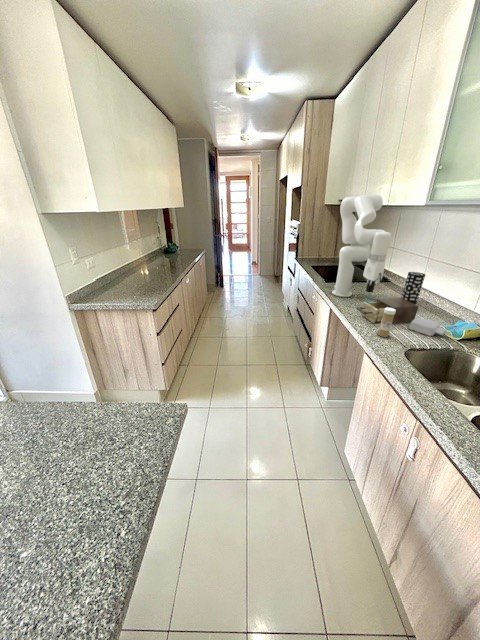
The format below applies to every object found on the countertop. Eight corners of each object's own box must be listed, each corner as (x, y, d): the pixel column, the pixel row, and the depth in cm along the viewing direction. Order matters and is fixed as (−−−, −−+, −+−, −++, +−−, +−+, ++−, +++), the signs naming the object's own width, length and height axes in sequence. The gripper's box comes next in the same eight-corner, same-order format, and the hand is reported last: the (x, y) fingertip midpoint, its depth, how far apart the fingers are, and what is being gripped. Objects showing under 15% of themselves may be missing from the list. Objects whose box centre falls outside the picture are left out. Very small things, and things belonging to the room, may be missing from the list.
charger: (444, 341, 117) (408, 329, 128) (451, 335, 122) (416, 324, 133) (448, 332, 115) (411, 321, 126) (454, 326, 120) (418, 316, 131)
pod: (362, 307, 153) (363, 299, 151) (368, 307, 154) (370, 299, 152) (366, 310, 150) (368, 302, 147) (372, 309, 150) (374, 301, 148)
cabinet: (388, 323, 133) (392, 307, 130) (373, 314, 145) (377, 298, 141) (413, 322, 136) (418, 306, 132) (396, 312, 147) (401, 297, 143)
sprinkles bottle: (381, 337, 120) (388, 311, 114) (375, 333, 124) (382, 307, 118) (390, 337, 120) (398, 310, 115) (384, 332, 124) (392, 306, 119)
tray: (364, 323, 132) (367, 310, 128) (352, 314, 142) (355, 302, 139) (396, 321, 134) (400, 308, 131) (382, 312, 144) (385, 300, 141)
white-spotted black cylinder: (403, 302, 161) (412, 271, 152) (417, 307, 154) (428, 274, 146) (396, 305, 157) (405, 273, 148) (410, 310, 150) (421, 276, 142)
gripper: (362, 254, 137) (355, 287, 145) (379, 261, 124) (370, 297, 132) (375, 254, 138) (367, 287, 146) (394, 260, 125) (384, 296, 133)
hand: (369, 291), depth 139 cm, fingers closed
